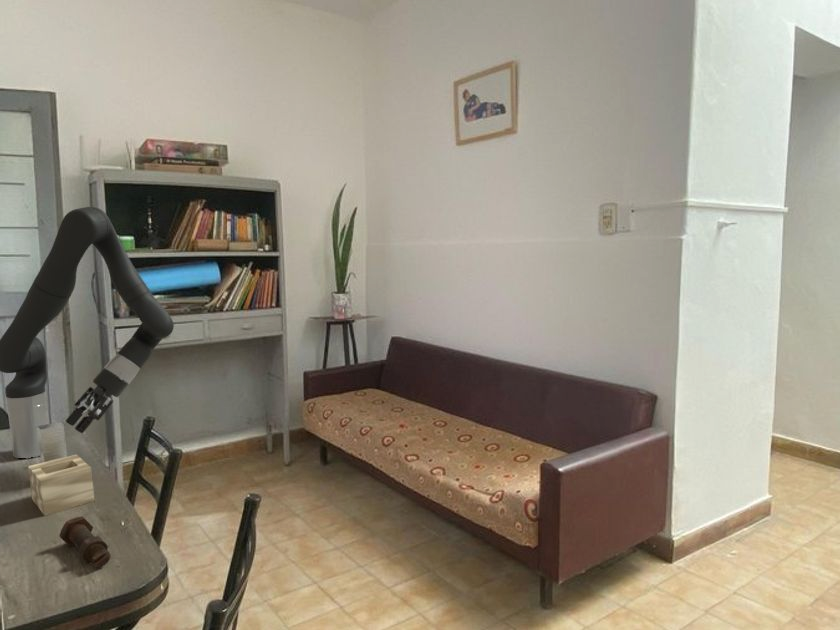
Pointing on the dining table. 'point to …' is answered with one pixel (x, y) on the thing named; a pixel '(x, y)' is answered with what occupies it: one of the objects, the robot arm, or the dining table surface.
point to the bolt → (85, 541)
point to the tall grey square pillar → (52, 441)
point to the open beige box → (61, 484)
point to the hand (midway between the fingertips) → (73, 427)
